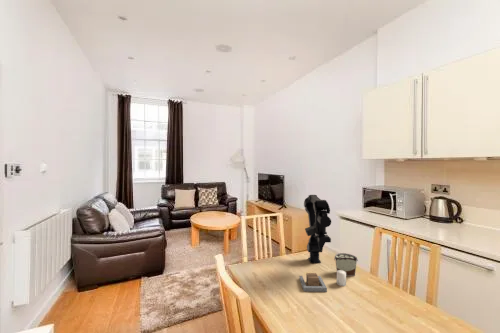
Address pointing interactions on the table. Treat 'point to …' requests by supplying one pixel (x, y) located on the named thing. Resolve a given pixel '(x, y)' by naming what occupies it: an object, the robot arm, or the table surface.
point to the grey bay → (313, 288)
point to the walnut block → (312, 279)
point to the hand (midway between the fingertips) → (320, 249)
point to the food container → (346, 263)
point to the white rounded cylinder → (341, 278)
